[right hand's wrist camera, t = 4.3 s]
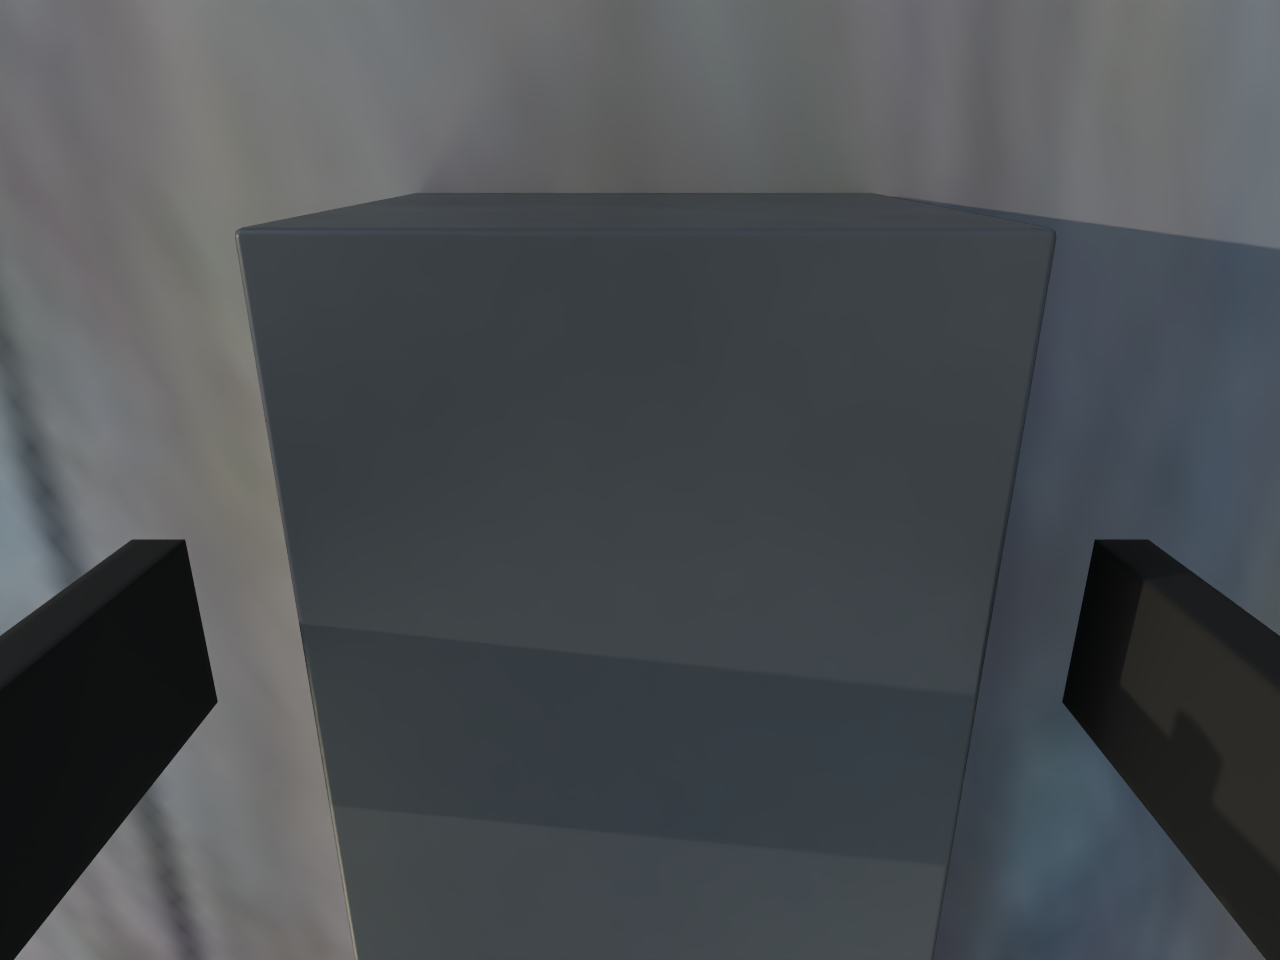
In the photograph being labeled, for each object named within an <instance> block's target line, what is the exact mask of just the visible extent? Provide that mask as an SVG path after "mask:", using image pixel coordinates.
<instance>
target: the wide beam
mask: <svg viewBox="0 0 1280 960" xmlns="http://www.w3.org/2000/svg"><path fill="white" fill-rule="evenodd" d="M235 240H236V246H237V252H238V258H239V264H240V270H241V276H242V282H243V288H244V294H245V300H246V306H247V312H248V318H249V324H250V330H251V336H252V342H253V348H254V354H255V360H256V366H257V372H258V378H259V384H260V390H261V396H262V402H263V408H264V415H265V421H266V427H267V433H268V439H269V445H270V451H271V457H272V463H273V469H274V475H275V481H276V487H277V493H278V499H279V505H280V511H281V517H282V523H283V529H284V535H285V541H286V547H287V553H288V559H289V565H290V571H291V577H292V583H293V589H294V595H295V601H296V607H297V613H298V619H299V625H300V631H301V637H302V643H303V649H304V655H305V661H306V667H307V673H308V679H309V685H310V691H311V697H312V703H313V709H314V715H315V721H316V727H317V733H318V739H319V745H320V751H321V757H322V763H323V769H324V775H325V781H326V787H327V793H328V800H329V806H330V812H331V818H332V824H333V830H334V836H335V842H336V848H337V854H338V860H339V866H340V872H341V878H342V884H343V890H344V896H345V902H346V908H347V914H348V920H349V926H350V932H351V938H352V944H353V950H354V956H355V960H933V955H934V950H935V944H936V938H937V932H938V926H939V920H940V914H941V909H942V903H943V897H944V891H945V885H946V879H947V873H948V868H949V862H950V856H951V850H952V844H953V838H954V833H955V827H956V821H957V815H958V809H959V803H960V797H961V792H962V786H963V780H964V774H965V768H966V762H967V757H968V751H969V745H970V739H971V733H972V727H973V721H974V716H975V710H976V704H977V698H978V692H979V686H980V680H981V675H982V669H983V663H984V657H985V651H986V645H987V640H988V634H989V628H990V622H991V616H992V610H993V604H994V599H995V593H996V587H997V581H998V575H999V569H1000V564H1001V558H1002V552H1003V546H1004V540H1005V534H1006V528H1007V523H1008V517H1009V511H1010V505H1011V499H1012V493H1013V487H1014V482H1015V476H1016V470H1017V464H1018V458H1019V452H1020V447H1021V441H1022V435H1023V429H1024V423H1025V417H1026V411H1027V406H1028V400H1029V394H1030V388H1031V382H1032V376H1033V371H1034V365H1035V359H1036V353H1037V347H1038V341H1039V335H1040V330H1041V324H1042V318H1043V312H1044V306H1045V300H1046V294H1047V289H1048V283H1049V277H1050V271H1051V265H1052V259H1053V254H1054V248H1055V242H1056V233H1055V231H1054V230H1052V229H1050V228H1047V227H1042V226H1037V225H1032V224H1027V223H1021V222H1016V221H1011V220H1006V219H1001V218H996V217H991V216H986V215H981V214H976V213H970V212H965V211H960V210H955V209H950V208H945V207H940V206H935V205H930V204H925V203H919V202H914V201H909V200H904V199H899V198H894V197H889V196H884V195H879V194H874V193H415V194H410V195H404V196H399V197H394V198H389V199H384V200H379V201H374V202H369V203H364V204H359V205H354V206H349V207H344V208H339V209H334V210H329V211H324V212H319V213H314V214H309V215H304V216H298V217H293V218H288V219H283V220H278V221H273V222H268V223H263V224H258V225H253V226H248V227H243V228H241V229H238V230H237V231H236V234H235Z"/></svg>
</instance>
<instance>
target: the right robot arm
mask: <svg viewBox="0 0 1280 960" xmlns="http://www.w3.org/2000/svg"><path fill="white" fill-rule="evenodd" d="M217 702H218V701H217V696H216V691H215V686H214V681H213V676H212V671H211V666H210V661H209V656H208V651H207V646H206V641H205V636H204V631H203V627H202V622H201V617H200V612H199V607H198V602H197V597H196V592H195V587H194V582H193V577H192V572H191V567H190V562H189V557H188V552H187V547H186V542H185V540H131V541H129V542H128V543H127V544H125V545H124V546H123V547H121V548H120V549H119V550H117V551H116V552H114V553H113V554H112V555H110V556H109V557H108V558H106V559H105V560H103V561H102V562H101V563H99V564H98V565H97V566H95V567H94V568H93V569H91V570H90V571H88V572H87V573H86V574H84V575H83V576H82V577H80V578H79V579H78V580H76V581H75V582H73V583H72V584H71V585H69V586H68V587H67V588H65V589H64V590H62V591H61V592H60V593H58V594H57V595H56V596H54V597H53V598H52V599H50V600H49V601H47V602H46V603H45V604H43V605H42V606H41V607H39V608H38V609H37V610H35V611H34V612H32V613H31V614H30V615H28V616H27V617H26V618H24V619H23V620H21V621H20V622H19V623H17V624H16V625H15V626H13V627H12V628H11V629H9V630H8V631H6V632H5V633H4V634H2V635H1V636H0V960H14V959H15V958H16V956H17V955H18V954H19V952H20V951H21V950H22V949H23V947H24V946H25V945H26V944H27V942H28V941H29V940H30V939H31V937H32V936H33V935H34V934H35V932H36V931H37V930H38V928H39V927H40V926H41V925H42V923H43V922H44V921H45V920H46V918H47V917H48V916H49V915H50V913H51V912H52V911H53V910H54V908H55V907H56V906H57V904H58V903H59V902H60V901H61V899H62V898H63V897H64V896H65V894H66V893H67V892H68V891H69V889H70V888H71V887H72V885H73V884H74V883H75V882H76V880H77V879H78V878H79V877H80V875H81V874H82V873H83V872H84V870H85V869H86V868H87V867H88V865H89V864H90V863H91V861H92V860H93V859H94V858H95V856H96V855H97V854H98V853H99V851H100V850H101V849H102V848H103V846H104V845H105V844H106V843H107V841H108V840H109V839H110V837H111V836H112V835H113V834H114V832H115V831H116V830H117V829H118V827H119V826H120V825H121V824H122V822H123V821H124V820H125V818H126V817H127V816H128V815H129V813H130V812H131V811H132V810H133V808H134V807H135V806H136V805H137V803H138V802H139V801H140V800H141V798H142V797H143V796H144V794H145V793H146V792H147V791H148V789H149V788H150V787H151V786H152V784H153V783H154V782H155V781H156V779H157V778H158V777H159V776H160V774H161V773H162V772H163V770H164V769H165V768H166V767H167V765H168V764H169V763H170V762H171V760H172V759H173V758H174V757H175V755H176V754H177V753H178V751H179V750H180V749H181V748H182V746H183V745H184V744H185V743H186V741H187V740H188V739H189V738H190V736H191V735H192V734H193V733H194V731H195V730H196V729H197V727H198V726H199V725H200V724H201V722H202V721H203V720H204V719H205V717H206V716H207V715H208V714H209V712H210V711H211V710H212V708H213V707H214V706H215V705H216V703H217ZM1062 702H1063V703H1064V705H1065V706H1066V707H1067V709H1068V710H1069V711H1070V712H1071V714H1072V715H1073V716H1074V717H1075V719H1076V720H1077V721H1078V722H1079V724H1080V725H1081V726H1082V727H1083V729H1084V730H1085V731H1086V733H1087V734H1088V735H1089V736H1090V738H1091V739H1092V740H1093V741H1094V743H1095V744H1096V745H1097V746H1098V748H1099V749H1100V750H1101V751H1102V753H1103V754H1104V755H1105V757H1106V758H1107V759H1108V760H1109V762H1110V763H1111V764H1112V765H1113V767H1114V768H1115V769H1116V770H1117V772H1118V773H1119V774H1120V776H1121V777H1122V778H1123V779H1124V781H1125V782H1126V783H1127V784H1128V786H1129V787H1130V788H1131V789H1132V791H1133V792H1134V793H1135V794H1136V796H1137V797H1138V798H1139V800H1140V801H1141V802H1142V803H1143V805H1144V806H1145V807H1146V808H1147V810H1148V811H1149V812H1150V813H1151V815H1152V816H1153V817H1154V818H1155V820H1156V821H1157V822H1158V824H1159V825H1160V826H1161V827H1162V829H1163V830H1164V831H1165V832H1166V834H1167V835H1168V836H1169V837H1170V839H1171V840H1172V841H1173V843H1174V844H1175V845H1176V846H1177V848H1178V849H1179V850H1180V851H1181V853H1182V854H1183V855H1184V856H1185V858H1186V859H1187V860H1188V861H1189V863H1190V864H1191V865H1192V867H1193V868H1194V869H1195V870H1196V872H1197V873H1198V874H1199V875H1200V877H1201V878H1202V879H1203V880H1204V882H1205V883H1206V884H1207V885H1208V887H1209V888H1210V889H1211V891H1212V892H1213V893H1214V894H1215V896H1216V897H1217V898H1218V899H1219V901H1220V902H1221V903H1222V904H1223V906H1224V907H1225V908H1226V910H1227V911H1228V912H1229V913H1230V915H1231V916H1232V917H1233V918H1234V920H1235V921H1236V922H1237V923H1238V925H1239V926H1240V927H1241V928H1242V930H1243V931H1244V932H1245V934H1246V935H1247V936H1248V937H1249V939H1250V940H1251V941H1252V942H1253V944H1254V945H1255V946H1256V947H1257V949H1258V950H1259V951H1260V952H1261V954H1262V955H1263V956H1264V958H1265V959H1266V960H1280V636H1279V635H1278V634H1276V633H1275V632H1274V631H1272V630H1271V629H1269V628H1268V627H1267V626H1265V625H1264V624H1263V623H1261V622H1260V621H1259V620H1257V619H1256V618H1254V617H1253V616H1252V615H1250V614H1249V613H1248V612H1246V611H1245V610H1243V609H1242V608H1241V607H1239V606H1238V605H1237V604H1235V603H1234V602H1233V601H1231V600H1230V599H1228V598H1227V597H1226V596H1224V595H1223V594H1222V593H1220V592H1219V591H1218V590H1216V589H1215V588H1213V587H1212V586H1211V585H1209V584H1208V583H1207V582H1205V581H1204V580H1202V579H1201V578H1200V577H1198V576H1197V575H1196V574H1194V573H1193V572H1192V571H1190V570H1189V569H1187V568H1186V567H1185V566H1183V565H1182V564H1181V563H1179V562H1178V561H1177V560H1175V559H1174V558H1172V557H1171V556H1170V555H1168V554H1167V553H1166V552H1164V551H1163V550H1161V549H1160V548H1159V547H1157V546H1156V545H1155V544H1153V543H1152V542H1151V541H1149V540H1095V542H1094V547H1093V552H1092V557H1091V562H1090V567H1089V572H1088V577H1087V582H1086V587H1085V592H1084V597H1083V602H1082V607H1081V612H1080V616H1079V621H1078V626H1077V631H1076V636H1075V641H1074V646H1073V651H1072V656H1071V661H1070V666H1069V671H1068V676H1067V681H1066V686H1065V691H1064V696H1063V701H1062Z"/></svg>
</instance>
